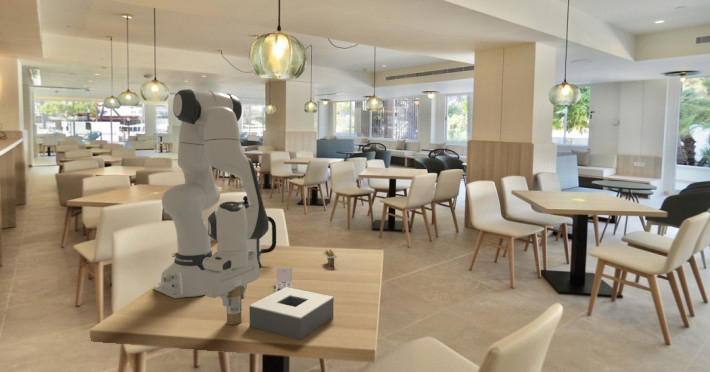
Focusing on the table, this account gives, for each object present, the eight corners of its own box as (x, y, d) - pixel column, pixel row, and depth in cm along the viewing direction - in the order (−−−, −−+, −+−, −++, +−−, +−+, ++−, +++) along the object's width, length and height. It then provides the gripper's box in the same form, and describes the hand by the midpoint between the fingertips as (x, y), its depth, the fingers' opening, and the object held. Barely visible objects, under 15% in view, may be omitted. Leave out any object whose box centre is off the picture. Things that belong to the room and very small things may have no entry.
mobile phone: (292, 266, 172) (292, 288, 147) (292, 281, 173) (292, 305, 148) (276, 267, 171) (273, 289, 146) (276, 282, 172) (274, 306, 147)
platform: (321, 272, 185) (321, 257, 184) (311, 260, 201) (311, 246, 201) (349, 270, 189) (349, 254, 188) (336, 258, 205) (336, 244, 205)
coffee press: (248, 273, 181) (247, 199, 178) (221, 266, 190) (219, 196, 186) (277, 262, 196) (276, 195, 192) (250, 257, 204) (249, 192, 201)
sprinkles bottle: (243, 318, 137) (242, 276, 135) (240, 325, 132) (239, 281, 131) (228, 319, 137) (227, 276, 135) (224, 325, 132) (223, 281, 130)
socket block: (249, 326, 132) (249, 305, 131) (286, 305, 148) (286, 287, 147) (300, 339, 123) (300, 317, 123) (333, 316, 139) (333, 296, 139)
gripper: (248, 248, 143) (248, 290, 144) (198, 264, 125) (200, 312, 126) (263, 250, 140) (264, 293, 141) (215, 267, 122) (216, 316, 123)
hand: (233, 302), depth 134 cm, fingers closed on sprinkles bottle, 4 cm apart
